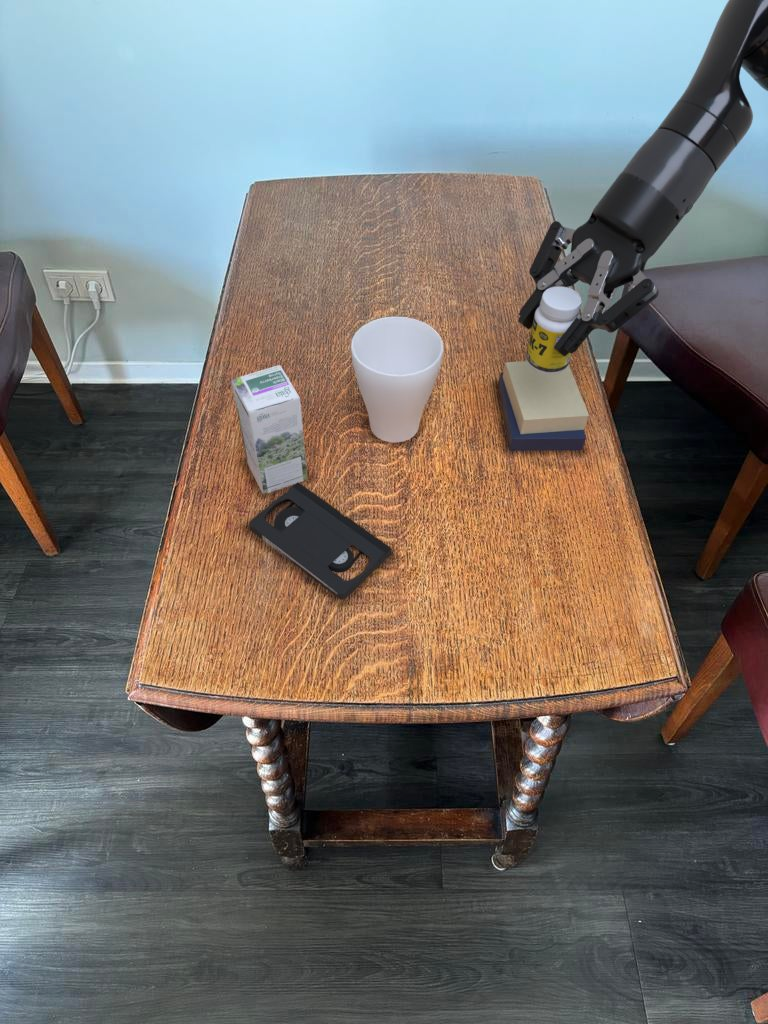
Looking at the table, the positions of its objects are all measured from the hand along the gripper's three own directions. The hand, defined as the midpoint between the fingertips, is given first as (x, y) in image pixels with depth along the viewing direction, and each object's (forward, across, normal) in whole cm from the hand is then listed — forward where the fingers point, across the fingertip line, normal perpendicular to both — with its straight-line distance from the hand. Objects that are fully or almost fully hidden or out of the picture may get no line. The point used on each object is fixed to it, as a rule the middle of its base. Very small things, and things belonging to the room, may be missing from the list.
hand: (541, 338), depth 76 cm
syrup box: (+31, -14, -6) cm, 34 cm away
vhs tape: (+32, -2, -7) cm, 33 cm away
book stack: (+8, -2, +17) cm, 19 cm away
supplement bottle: (+2, 0, +4) cm, 5 cm away
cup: (+20, -12, +6) cm, 24 cm away
